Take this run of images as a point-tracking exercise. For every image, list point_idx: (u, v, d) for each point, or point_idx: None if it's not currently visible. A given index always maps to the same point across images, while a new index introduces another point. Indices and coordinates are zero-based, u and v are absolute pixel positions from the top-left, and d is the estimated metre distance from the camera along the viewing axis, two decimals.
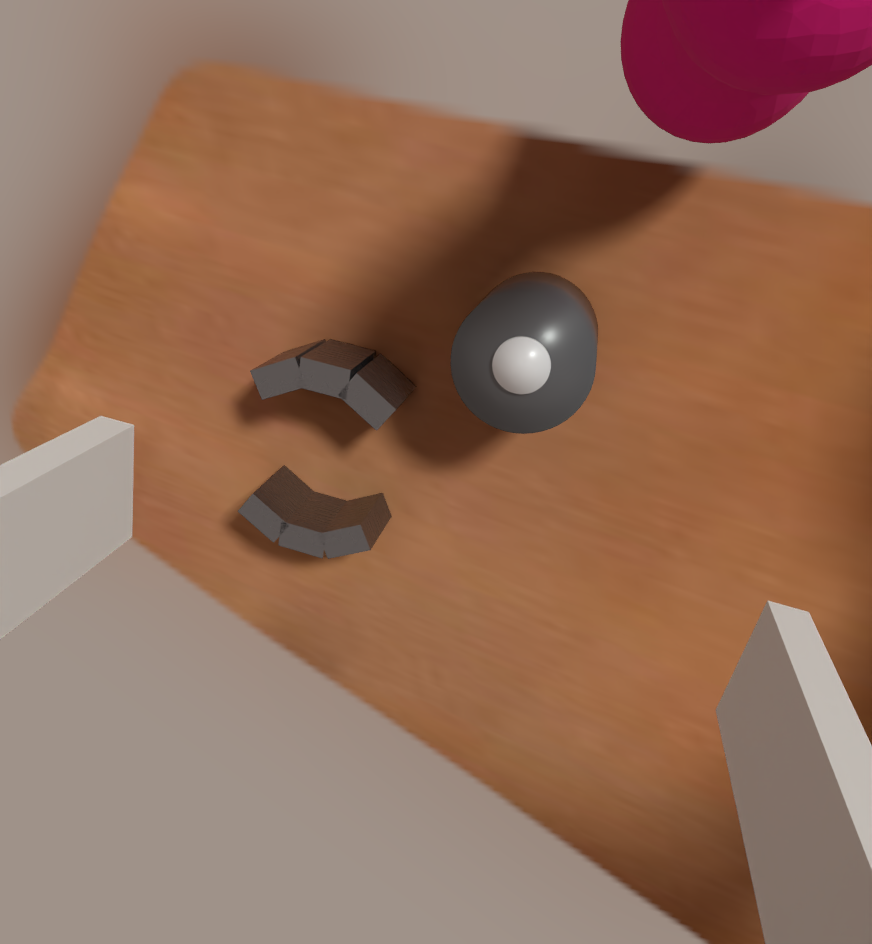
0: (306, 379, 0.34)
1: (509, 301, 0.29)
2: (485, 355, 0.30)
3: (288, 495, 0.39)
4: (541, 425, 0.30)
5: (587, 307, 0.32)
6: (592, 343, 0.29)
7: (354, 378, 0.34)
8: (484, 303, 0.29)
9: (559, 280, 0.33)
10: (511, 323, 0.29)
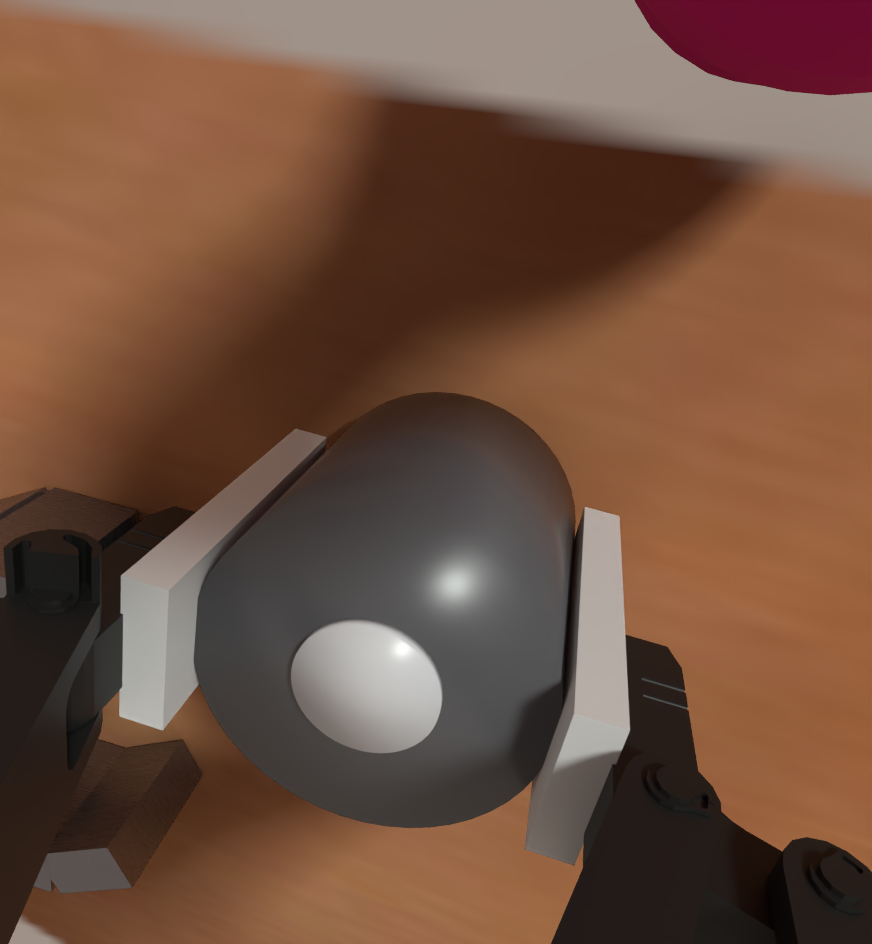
0: None
1: (321, 533, 0.10)
2: (277, 654, 0.11)
3: None
4: (429, 815, 0.12)
5: (548, 490, 0.14)
6: (552, 650, 0.10)
7: None
8: (255, 534, 0.11)
9: (484, 422, 0.14)
10: (331, 586, 0.11)
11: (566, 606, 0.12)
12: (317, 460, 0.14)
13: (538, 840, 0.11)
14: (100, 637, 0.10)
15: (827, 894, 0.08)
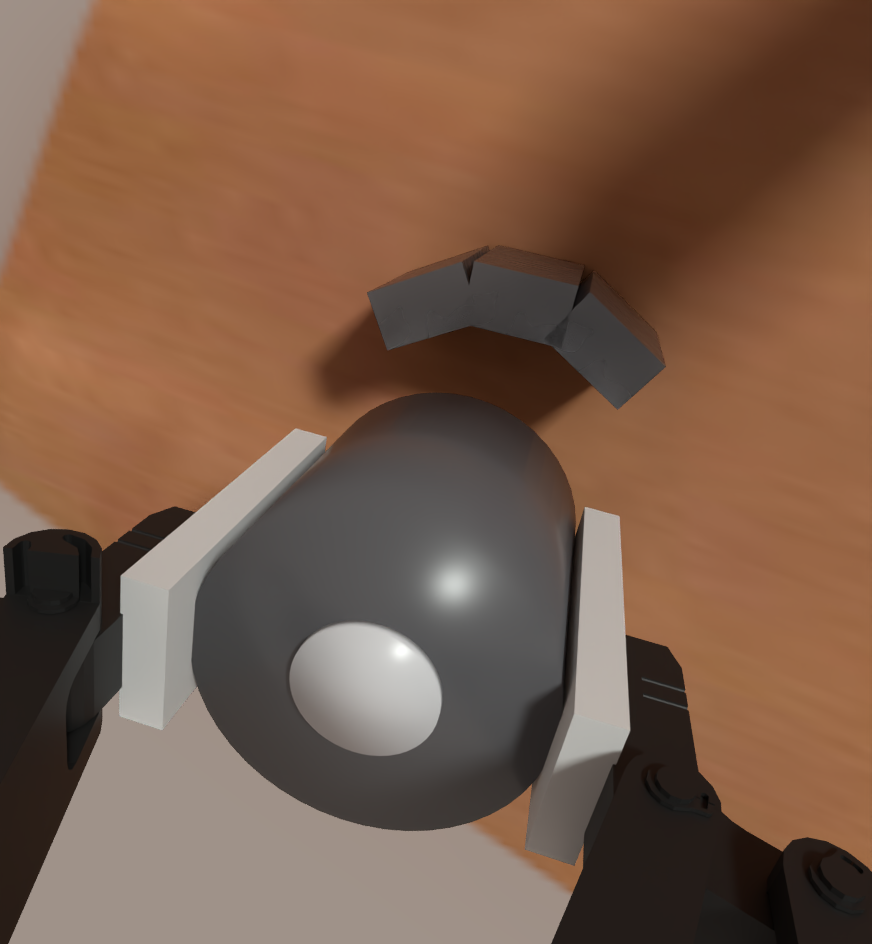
0: (481, 307, 0.17)
1: (320, 534, 0.10)
2: (275, 656, 0.11)
3: None
4: (428, 818, 0.12)
5: (548, 491, 0.14)
6: (552, 652, 0.10)
7: (584, 303, 0.17)
8: (253, 536, 0.11)
9: (484, 423, 0.14)
10: (330, 588, 0.11)
11: (566, 608, 0.12)
12: (316, 461, 0.14)
13: (538, 840, 0.11)
14: (100, 637, 0.10)
15: (827, 894, 0.08)
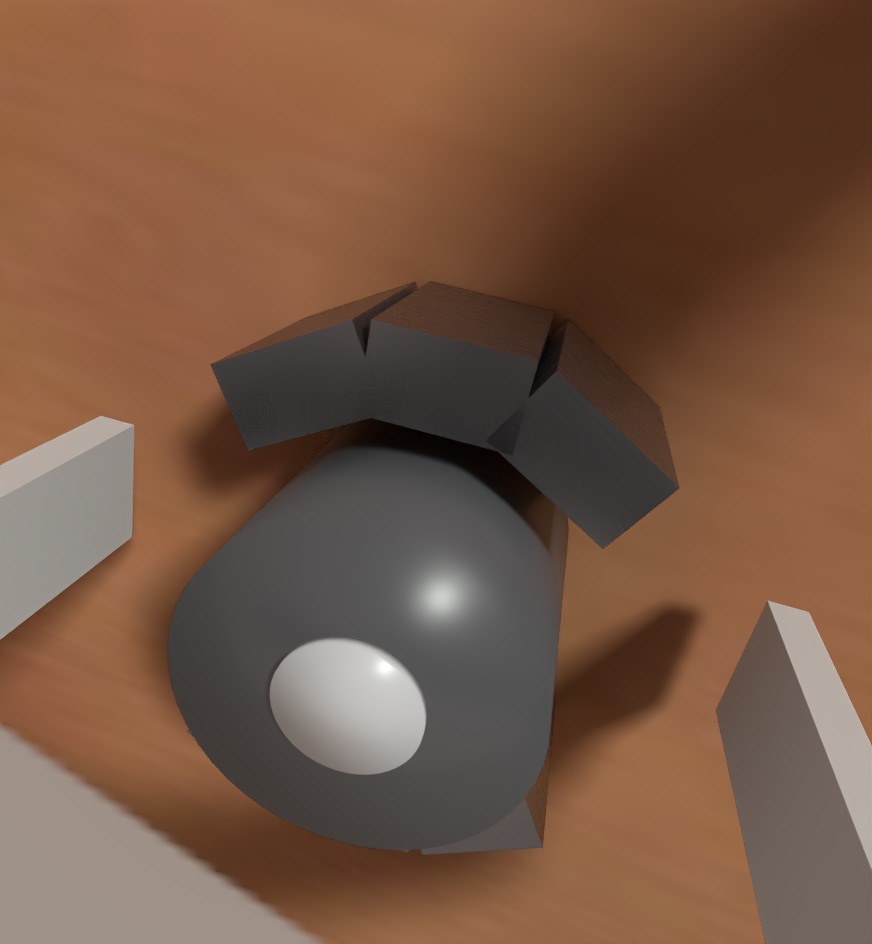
0: (387, 391, 0.11)
1: (299, 548, 0.10)
2: (255, 671, 0.11)
3: None
4: (414, 837, 0.12)
5: (538, 500, 0.13)
6: (539, 670, 0.10)
7: (547, 388, 0.10)
8: (231, 549, 0.10)
9: None
10: (310, 604, 0.10)
11: (556, 621, 0.12)
12: (301, 469, 0.13)
13: None
14: None
15: None
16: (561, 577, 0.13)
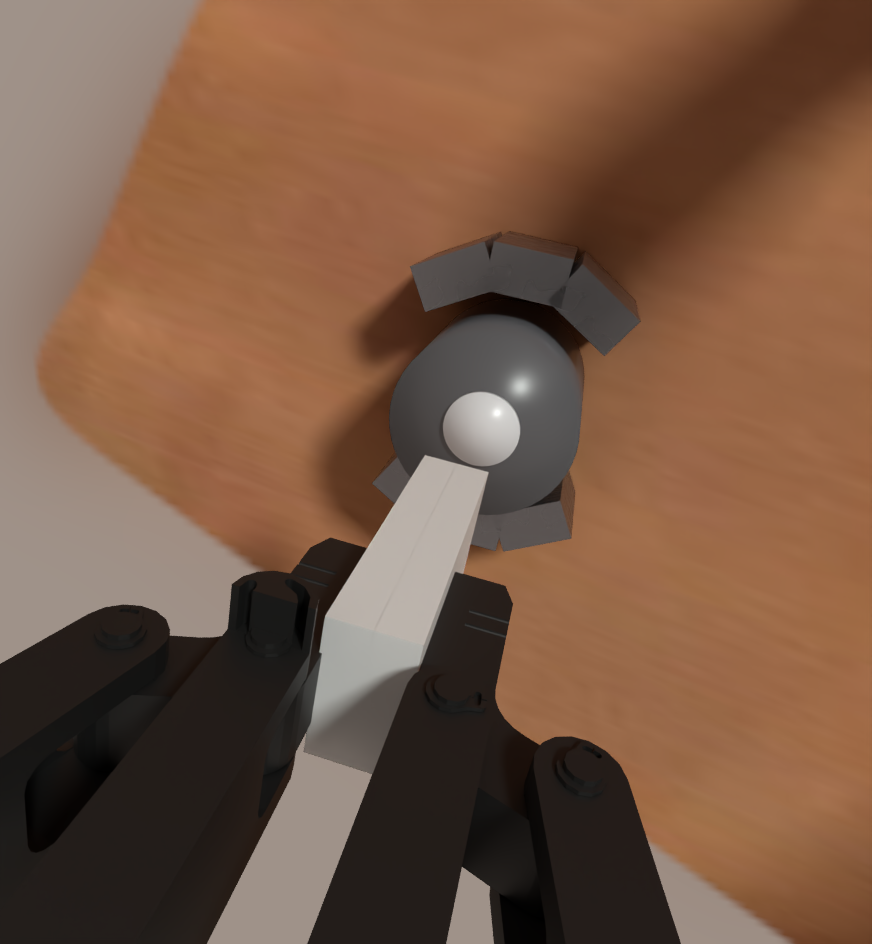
0: (499, 277, 0.22)
1: (464, 345, 0.21)
2: (435, 415, 0.23)
3: None
4: (509, 505, 0.23)
5: (569, 347, 0.25)
6: (575, 401, 0.21)
7: (578, 273, 0.22)
8: (430, 348, 0.22)
9: (534, 311, 0.25)
10: (466, 374, 0.22)
11: (580, 397, 0.23)
12: (442, 331, 0.25)
13: (358, 756, 0.11)
14: (304, 686, 0.10)
15: (570, 784, 0.09)
16: (582, 386, 0.25)
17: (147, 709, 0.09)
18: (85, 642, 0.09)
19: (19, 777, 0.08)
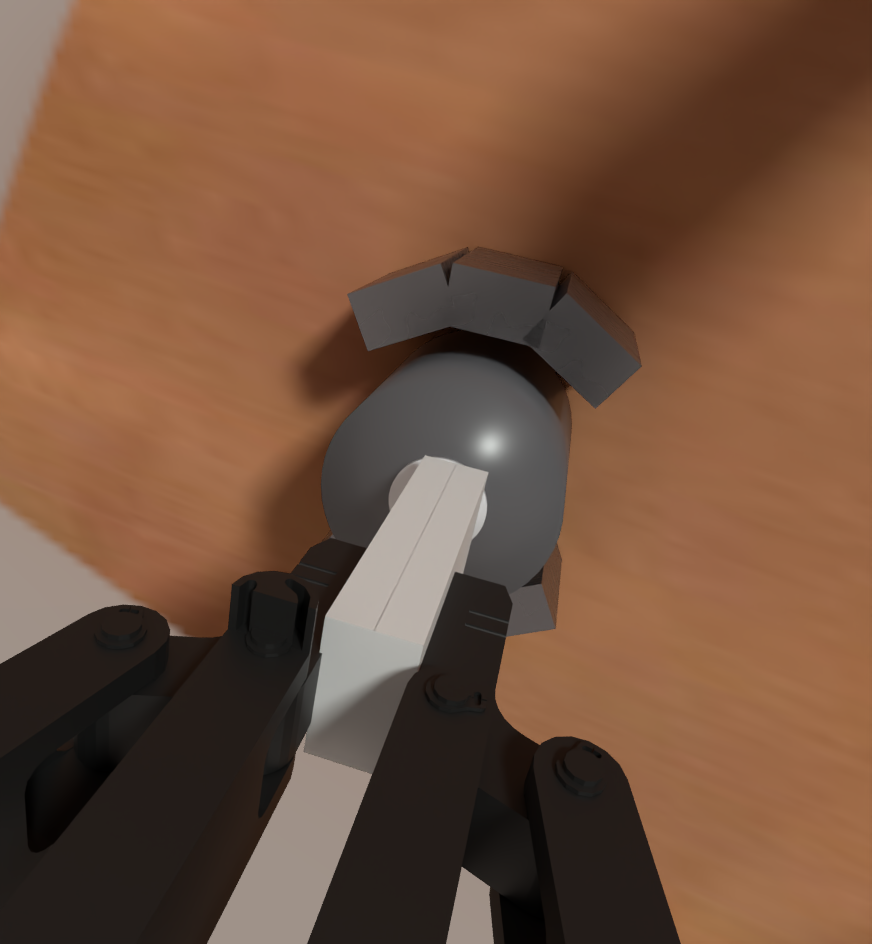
0: (460, 308, 0.17)
1: (413, 399, 0.17)
2: (378, 485, 0.18)
3: None
4: None
5: (552, 391, 0.20)
6: (557, 471, 0.17)
7: (561, 304, 0.17)
8: (370, 401, 0.17)
9: (508, 346, 0.20)
10: (417, 435, 0.17)
11: (565, 459, 0.18)
12: None
13: (357, 757, 0.11)
14: (304, 686, 0.10)
15: (570, 784, 0.09)
16: (568, 441, 0.20)
17: (147, 709, 0.09)
18: (85, 642, 0.09)
19: (19, 777, 0.08)
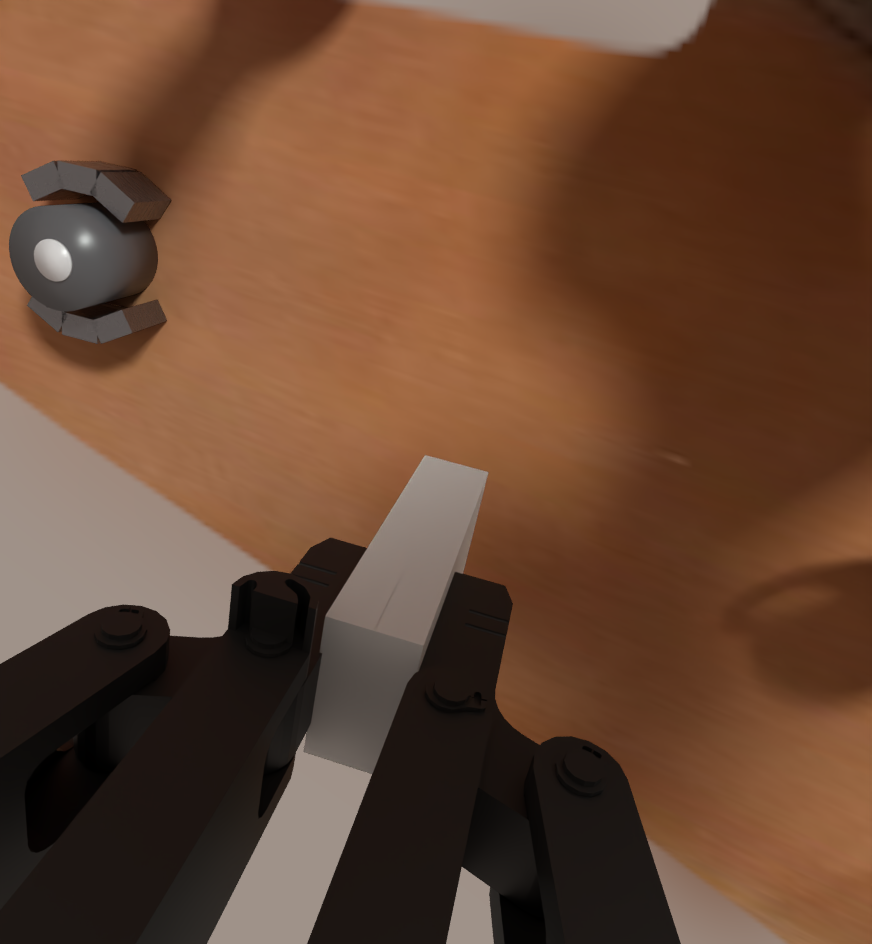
0: (64, 180, 0.42)
1: (36, 213, 0.41)
2: (31, 254, 0.42)
3: None
4: (77, 304, 0.43)
5: (126, 224, 0.45)
6: (93, 242, 0.41)
7: (100, 177, 0.42)
8: (21, 216, 0.42)
9: None
10: (40, 229, 0.42)
11: (116, 247, 0.43)
12: None
13: (357, 757, 0.11)
14: (304, 686, 0.10)
15: (571, 784, 0.09)
16: (131, 245, 0.45)
17: (147, 709, 0.09)
18: (85, 642, 0.09)
19: (19, 777, 0.08)
